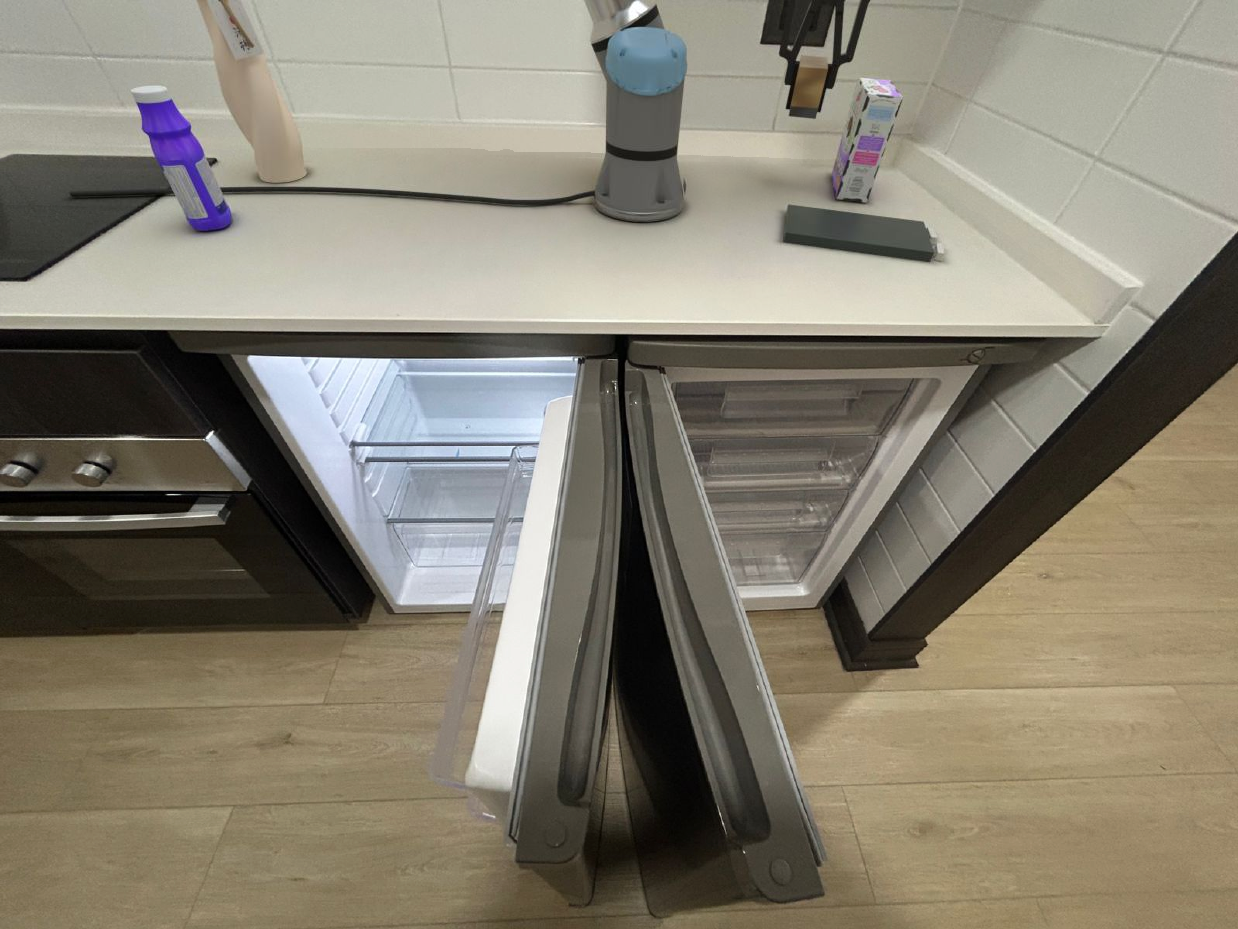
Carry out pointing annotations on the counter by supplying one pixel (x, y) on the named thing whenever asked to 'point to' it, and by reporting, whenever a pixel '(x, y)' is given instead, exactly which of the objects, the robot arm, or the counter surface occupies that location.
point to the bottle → (182, 159)
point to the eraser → (808, 86)
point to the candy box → (865, 138)
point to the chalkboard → (858, 232)
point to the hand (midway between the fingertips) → (803, 108)
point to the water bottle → (253, 92)
